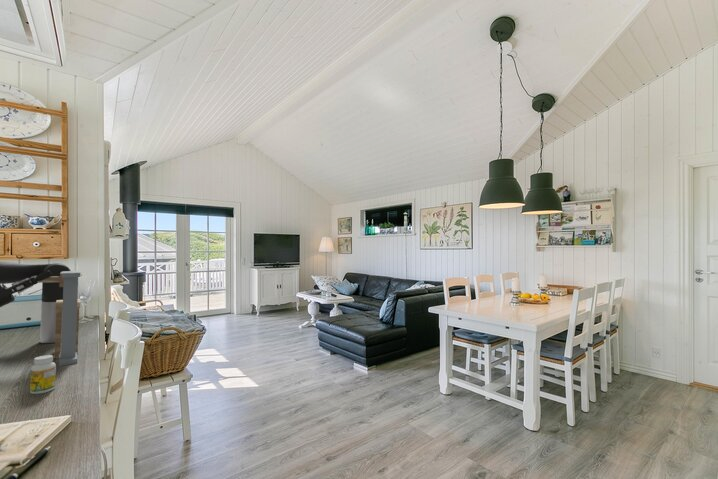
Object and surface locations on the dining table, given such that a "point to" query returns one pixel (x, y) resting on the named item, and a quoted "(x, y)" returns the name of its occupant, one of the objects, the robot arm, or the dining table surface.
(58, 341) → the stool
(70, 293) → the stand
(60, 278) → the mallet
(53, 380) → the supplement bottle
